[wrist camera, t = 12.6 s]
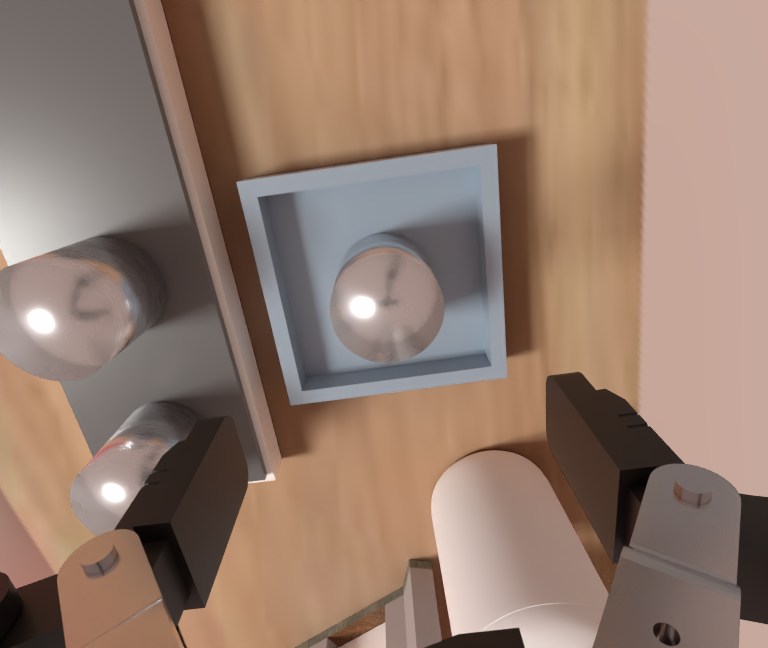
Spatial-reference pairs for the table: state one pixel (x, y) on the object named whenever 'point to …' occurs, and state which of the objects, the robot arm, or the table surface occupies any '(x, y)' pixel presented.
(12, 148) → the scale
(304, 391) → the tray
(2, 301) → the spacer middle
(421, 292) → the cylinder
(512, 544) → the pill bottle
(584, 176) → the table surface
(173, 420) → the cylinder
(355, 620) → the cabinet
